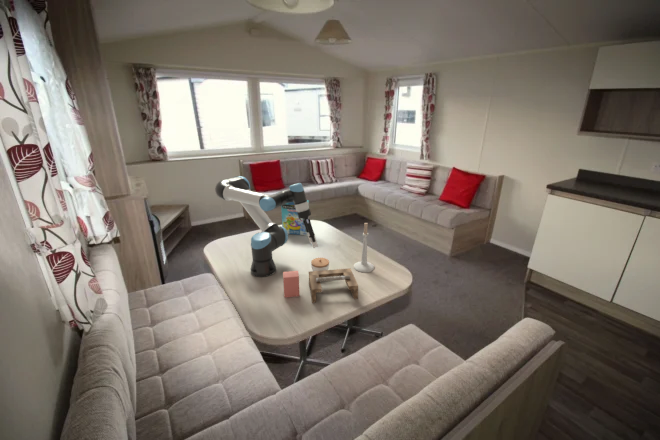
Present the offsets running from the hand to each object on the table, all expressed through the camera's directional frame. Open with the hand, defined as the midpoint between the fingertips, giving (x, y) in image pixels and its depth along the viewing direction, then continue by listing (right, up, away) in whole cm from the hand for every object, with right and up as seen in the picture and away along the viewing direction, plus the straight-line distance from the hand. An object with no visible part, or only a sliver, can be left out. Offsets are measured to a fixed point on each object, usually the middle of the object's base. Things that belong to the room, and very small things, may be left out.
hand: (313, 244), depth 178 cm
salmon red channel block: (-11, -25, -14) cm, 31 cm away
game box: (-18, +4, +64) cm, 66 cm away
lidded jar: (+3, -18, +6) cm, 19 cm away
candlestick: (+31, -15, +13) cm, 37 cm away
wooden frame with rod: (+11, -24, -12) cm, 29 cm away
